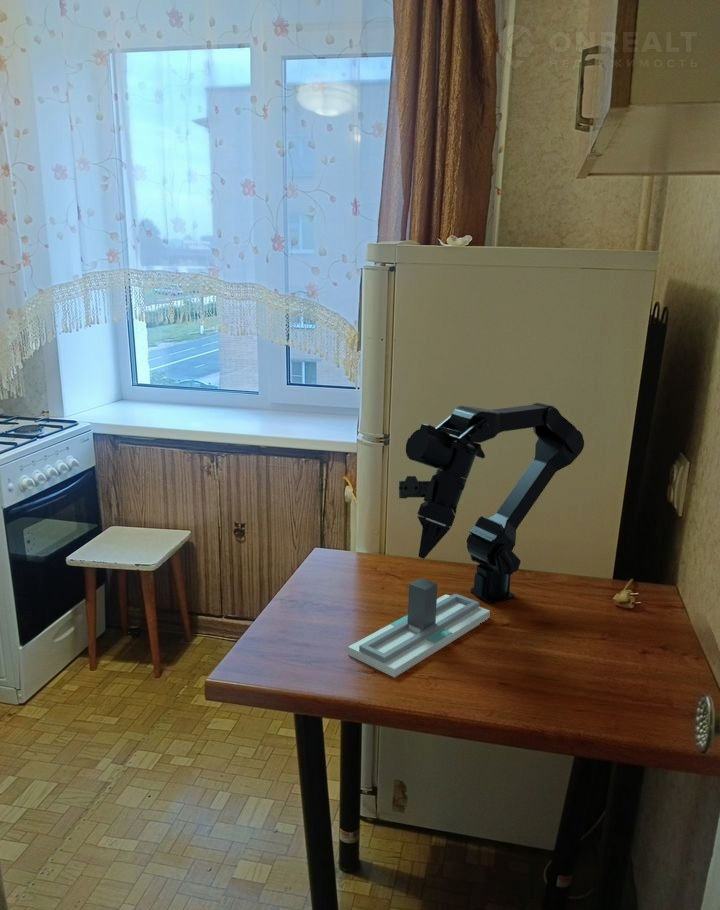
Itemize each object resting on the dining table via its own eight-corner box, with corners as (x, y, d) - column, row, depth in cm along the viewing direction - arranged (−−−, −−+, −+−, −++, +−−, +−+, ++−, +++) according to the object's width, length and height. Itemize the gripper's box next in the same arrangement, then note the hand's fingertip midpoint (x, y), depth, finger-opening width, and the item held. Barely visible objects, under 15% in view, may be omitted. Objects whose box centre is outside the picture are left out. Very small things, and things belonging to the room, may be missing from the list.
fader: (420, 620, 130) (422, 577, 128) (436, 627, 128) (438, 583, 126) (406, 628, 127) (408, 584, 125) (422, 635, 125) (424, 590, 123)
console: (445, 601, 142) (446, 589, 141) (489, 618, 135) (490, 605, 135) (347, 654, 121) (348, 641, 121) (394, 677, 115) (394, 663, 114)
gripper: (414, 459, 142) (387, 534, 143) (406, 458, 124) (375, 544, 124) (468, 479, 141) (440, 554, 141) (468, 481, 122) (436, 567, 123)
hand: (422, 554), depth 132 cm, fingers open, 9 cm apart
